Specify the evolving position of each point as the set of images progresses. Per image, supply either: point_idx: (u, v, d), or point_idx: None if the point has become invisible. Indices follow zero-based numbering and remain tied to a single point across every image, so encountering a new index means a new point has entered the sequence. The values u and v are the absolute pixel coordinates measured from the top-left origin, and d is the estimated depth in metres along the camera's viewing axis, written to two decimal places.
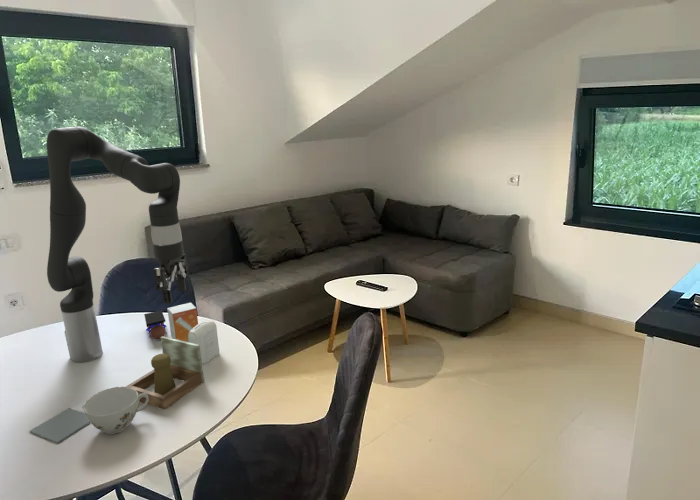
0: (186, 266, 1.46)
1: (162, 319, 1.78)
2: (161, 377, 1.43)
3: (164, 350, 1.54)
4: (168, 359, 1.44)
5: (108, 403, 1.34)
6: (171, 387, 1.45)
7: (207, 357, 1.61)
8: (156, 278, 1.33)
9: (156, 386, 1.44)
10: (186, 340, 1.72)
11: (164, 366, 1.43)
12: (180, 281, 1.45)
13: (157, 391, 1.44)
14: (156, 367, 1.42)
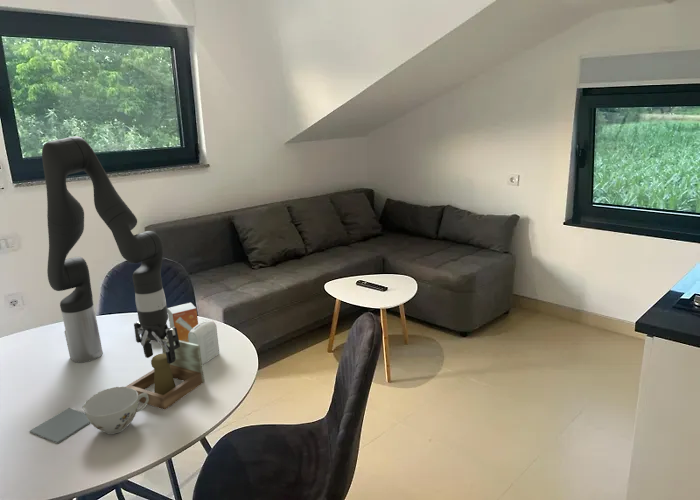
0: None
1: None
2: (161, 377, 1.43)
3: (164, 350, 1.54)
4: None
5: (108, 403, 1.34)
6: (171, 387, 1.45)
7: (207, 357, 1.61)
8: (172, 338, 1.38)
9: (156, 386, 1.44)
10: (186, 340, 1.72)
11: (164, 366, 1.43)
12: (148, 347, 1.45)
13: (157, 391, 1.44)
14: (156, 367, 1.42)
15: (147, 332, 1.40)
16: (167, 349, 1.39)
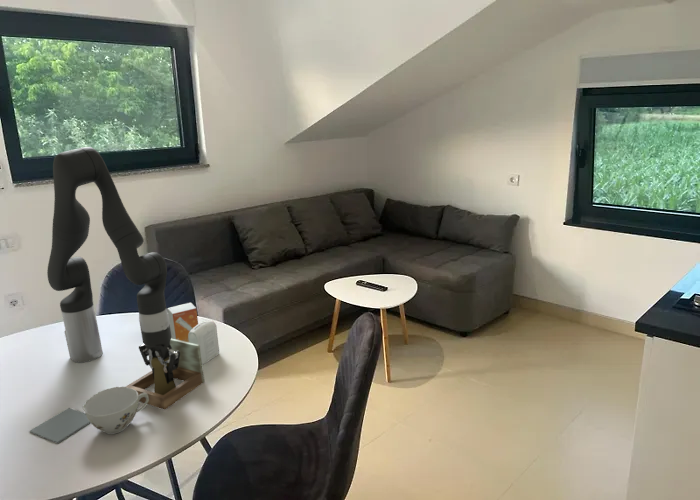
0: None
1: None
2: (161, 377, 1.43)
3: None
4: None
5: (108, 403, 1.34)
6: (171, 387, 1.45)
7: (207, 357, 1.61)
8: (174, 362, 1.41)
9: (156, 386, 1.44)
10: (186, 340, 1.72)
11: None
12: None
13: (157, 391, 1.44)
14: (156, 367, 1.42)
15: (151, 351, 1.42)
16: (165, 370, 1.43)
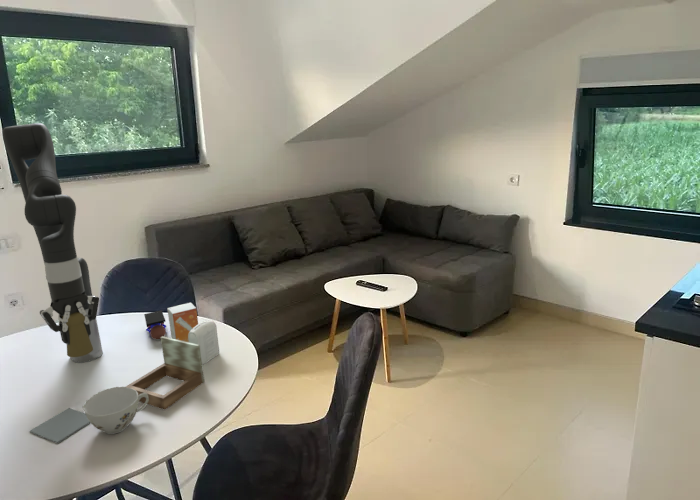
0: None
1: (162, 319, 1.78)
2: (84, 331, 1.31)
3: (164, 350, 1.54)
4: None
5: (108, 403, 1.34)
6: None
7: (207, 357, 1.61)
8: None
9: (81, 344, 1.30)
10: (186, 340, 1.72)
11: (84, 318, 1.31)
12: None
13: (84, 349, 1.30)
14: (80, 321, 1.29)
15: (69, 307, 1.27)
16: (87, 321, 1.31)
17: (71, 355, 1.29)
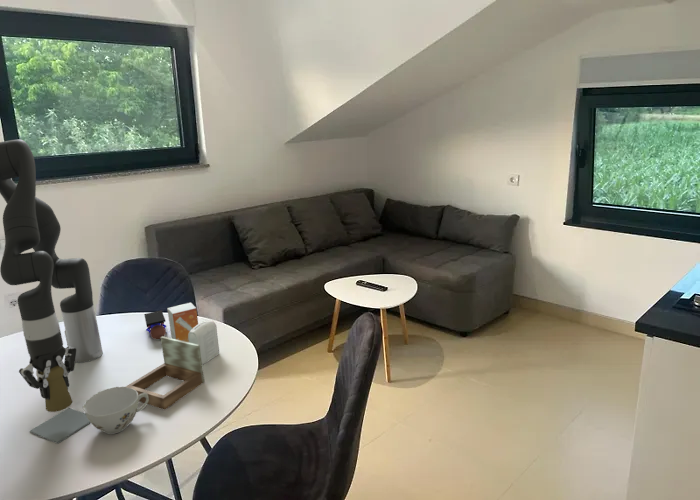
0: None
1: (162, 319, 1.78)
2: (64, 384, 1.30)
3: (164, 350, 1.54)
4: None
5: (108, 403, 1.34)
6: None
7: (207, 357, 1.61)
8: None
9: (63, 398, 1.29)
10: (186, 340, 1.72)
11: None
12: None
13: (65, 402, 1.30)
14: (61, 374, 1.28)
15: (49, 362, 1.26)
16: (66, 373, 1.31)
17: (52, 410, 1.28)
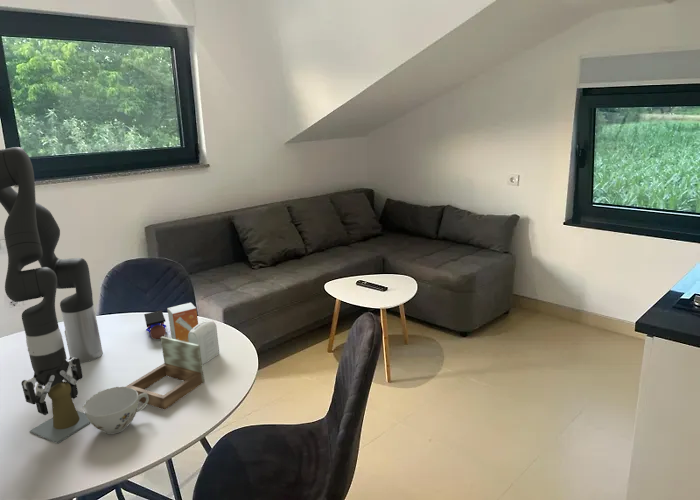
0: None
1: (162, 319, 1.78)
2: (72, 401, 1.32)
3: (164, 350, 1.54)
4: None
5: (108, 403, 1.34)
6: None
7: (207, 357, 1.61)
8: None
9: (71, 415, 1.31)
10: (186, 340, 1.72)
11: None
12: None
13: (73, 419, 1.32)
14: (69, 392, 1.31)
15: (53, 377, 1.27)
16: (75, 381, 1.33)
17: (60, 427, 1.31)
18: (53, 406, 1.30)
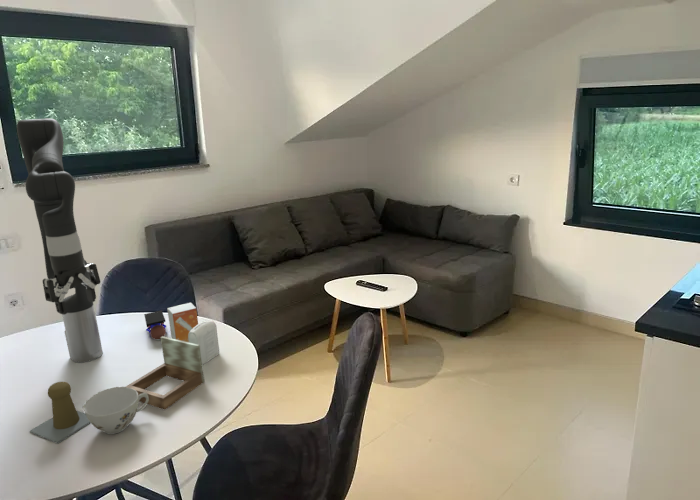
0: None
1: (162, 319, 1.78)
2: (72, 401, 1.32)
3: (164, 350, 1.54)
4: None
5: (108, 403, 1.34)
6: None
7: (207, 357, 1.61)
8: None
9: (71, 415, 1.31)
10: (186, 340, 1.72)
11: None
12: None
13: (73, 419, 1.32)
14: (69, 392, 1.31)
15: (72, 278, 1.33)
16: (93, 285, 1.40)
17: (60, 427, 1.31)
18: (53, 406, 1.30)
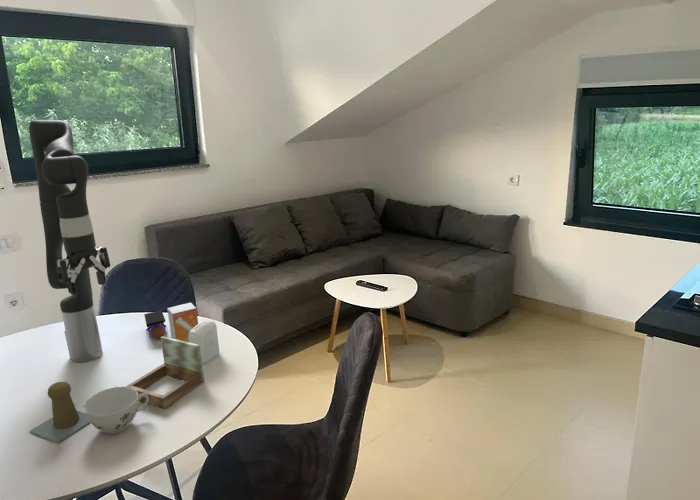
0: None
1: (162, 319, 1.78)
2: (72, 401, 1.32)
3: (164, 350, 1.54)
4: None
5: (108, 403, 1.34)
6: None
7: (207, 357, 1.61)
8: None
9: (71, 415, 1.31)
10: (186, 340, 1.72)
11: None
12: None
13: (73, 419, 1.32)
14: (69, 392, 1.31)
15: (84, 260, 1.38)
16: (104, 268, 1.44)
17: (60, 427, 1.31)
18: (53, 406, 1.30)
